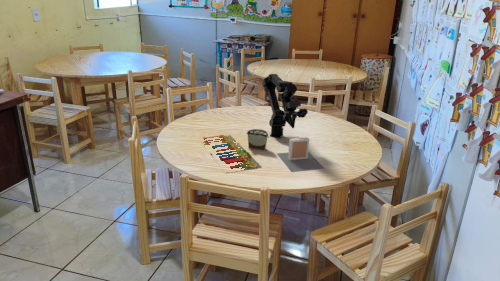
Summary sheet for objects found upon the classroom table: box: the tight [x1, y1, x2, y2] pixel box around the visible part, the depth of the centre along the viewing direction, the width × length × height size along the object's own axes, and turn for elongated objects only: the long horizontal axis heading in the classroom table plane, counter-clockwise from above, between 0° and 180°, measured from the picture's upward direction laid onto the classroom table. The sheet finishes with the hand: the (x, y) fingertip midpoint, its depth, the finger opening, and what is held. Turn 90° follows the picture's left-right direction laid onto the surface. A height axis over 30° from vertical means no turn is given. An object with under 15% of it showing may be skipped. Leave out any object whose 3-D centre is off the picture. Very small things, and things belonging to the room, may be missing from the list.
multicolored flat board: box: [202, 134, 262, 171], centre depth 194 cm, size 45×2×19 cm
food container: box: [246, 128, 269, 151], centre depth 199 cm, size 12×6×10 cm, turn 71°
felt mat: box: [276, 151, 326, 173], centre depth 187 cm, size 22×18×1 cm
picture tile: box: [287, 137, 310, 160], centre depth 187 cm, size 2×10×11 cm, turn 105°
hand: (293, 127), depth 192 cm, fingers closed
